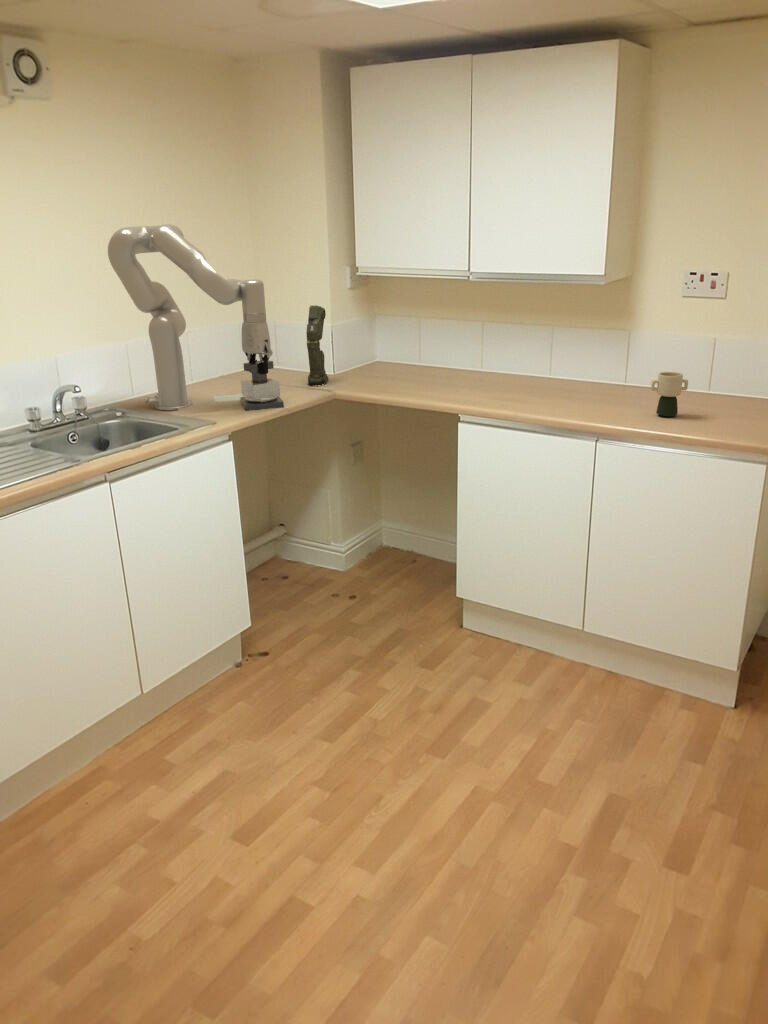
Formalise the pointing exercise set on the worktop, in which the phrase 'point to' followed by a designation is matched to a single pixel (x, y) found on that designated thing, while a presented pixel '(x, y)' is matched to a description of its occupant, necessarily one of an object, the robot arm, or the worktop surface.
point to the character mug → (668, 392)
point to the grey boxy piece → (260, 390)
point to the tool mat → (227, 397)
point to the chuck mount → (262, 404)
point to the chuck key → (257, 371)
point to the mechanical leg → (316, 346)
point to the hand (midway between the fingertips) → (258, 372)
